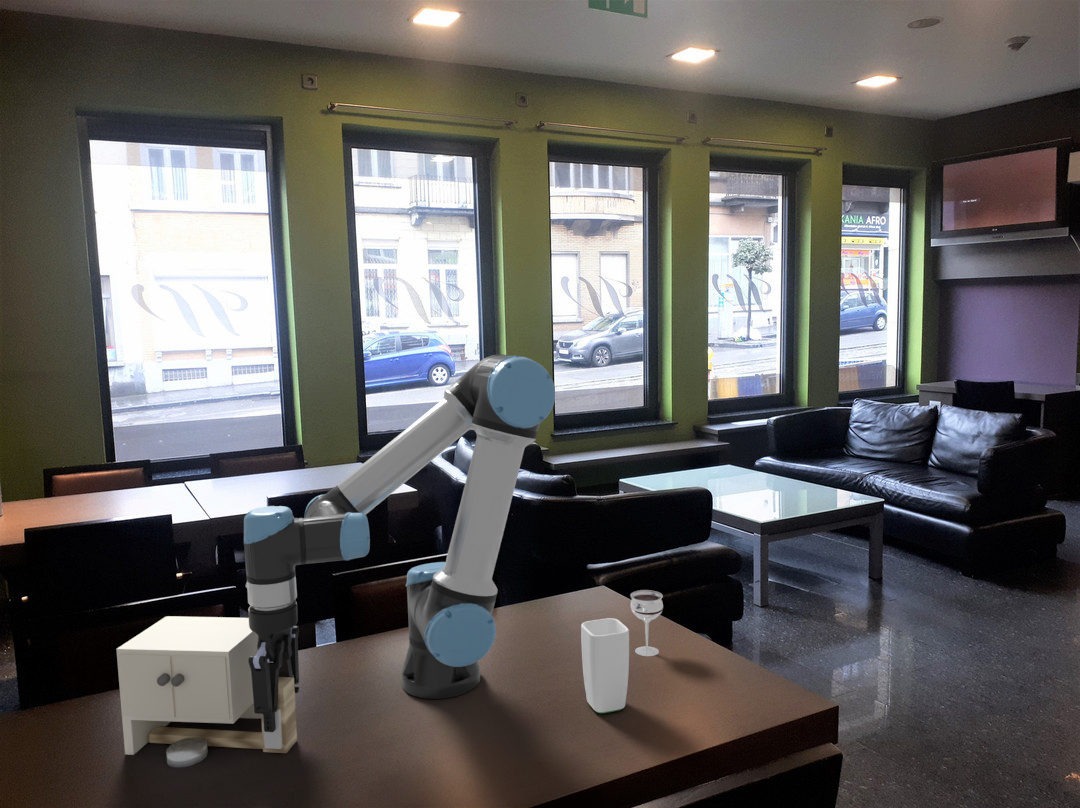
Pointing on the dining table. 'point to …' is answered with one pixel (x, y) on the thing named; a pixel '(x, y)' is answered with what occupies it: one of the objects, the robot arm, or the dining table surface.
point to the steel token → (186, 752)
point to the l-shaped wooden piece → (241, 737)
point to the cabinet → (185, 675)
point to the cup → (605, 663)
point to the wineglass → (646, 614)
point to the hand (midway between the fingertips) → (280, 739)
